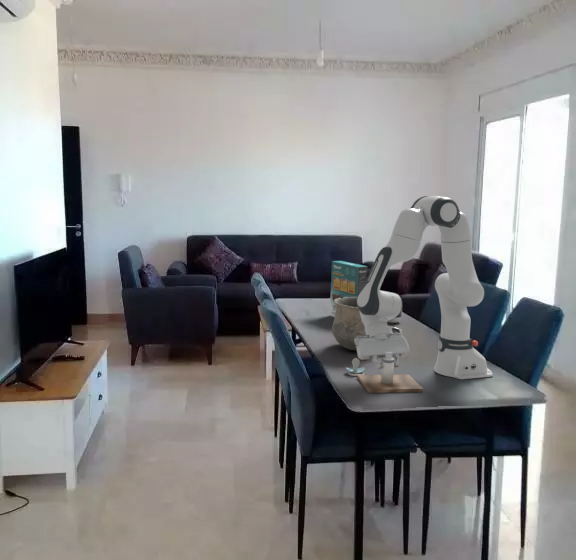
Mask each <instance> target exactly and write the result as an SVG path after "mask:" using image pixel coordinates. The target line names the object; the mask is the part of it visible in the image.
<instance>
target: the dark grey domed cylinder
mask: <svg viewBox="0 0 576 560" xmlns="http://www.w3.org/2000/svg"><path fill="white" fill-rule="evenodd" d="M402 317H403V310H402V311H401V312H400V314H399V315H398V316H397V317H395V318H393V319H391V320H389V321H387V323H389V324H396V323H398V322H400V321H401V319H402Z"/></svg>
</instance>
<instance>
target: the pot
mask: <svg viewBox="0 0 576 560" xmlns="http://www.w3.org/2000/svg"><path fill="white" fill-rule="evenodd" d="M334 303H335V305H336V312H335V317H333V322H332V327H331V333H332V336H333V337H334V339H335V340H336V342H337V343H338V344H339V345H341V346H342V347H343V348H345V349H346V350H350V351H355V352H357V346H356V345H355V342H354V339H355V338H356V337H357V336H364V335H366V333H365V326H364V324H363V322H362V320H361V316H360V312H359V308H358V306H357V297H344V298H342V299H341V298H337V299H335V300H334Z"/></svg>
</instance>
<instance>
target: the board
mask: <svg viewBox="0 0 576 560" xmlns="http://www.w3.org/2000/svg"><path fill="white" fill-rule="evenodd" d="M357 379H358V381H359V382H360V383H361V385H362V386H363V388H364V389H365V390H366V391H367V393H368V394H370V393H371V394H372V393H373V394H374V393H375V394H376V393H378V394H380V393H382V394H383V393H385V394H386V393H388V394H389V393H422V392H424V388H423V387H422V386H421V385H420V384H419V383H418V382H417V381H416V380H415V379H414V378H413V377H412V376H411V375H410V374H393V383H391V384H385V383H382V382H381V374H365V375H358V376H357Z"/></svg>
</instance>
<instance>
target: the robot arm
mask: <svg viewBox="0 0 576 560" xmlns="http://www.w3.org/2000/svg"><path fill="white" fill-rule="evenodd" d="M429 226H430V227H433V226H435V227H436V226H437V227H438V228H439V232H440V244H441V245H440V246H441V247H440V248H441V261H442V264H443V265H444V267H445V269H446V271H447V272H443V273H441V274H440V275H438V276H437V278H436V279H435V281H434V290H435V292H436V293H437V296H438V301H439V306H440V314H441V319H440V320H441V322H440V323H441V324H440V335H439V336H438V342H437V344H438V345H437V346H438V347H437V348H438V353H437V358H436V362H435V364H434V368H433V371H434V372H435V373H437V374H439V375H442V376H446V377H451V378H454V379H458V380H468V379H470V380H471V379H481V378H490V377H493V372H492V370H490V369H489V368H488V364H487V360H486V358H485V357H484V355H483V354H481V353H480V352H479V351H478V350H477V349H475V348H474V347H478V346H479V342H478V341H477V340H475V339H474V340H473V339H472V338H470V335H471V334H470V333H471V321H472V320H471V316H470V314H469V312H468V308H467V307H476V306H478V305H480V303H481V302H482V301H484V300H483V299H484V297H485V288H484V287H483V285H482V284H481V282H480V280H479V278H478V275H477V272H476V268H475V265H474V262H473V261H474V260H473V254H472V241H471V239H472V238H471V237H472V236H471V228H470V224H469V220H468V216H467V214H465V213H464V212H462V211H460V209H459V206H458V204H457V202H456V201H454V199H452V198H450V197H447V196H441V195H440V196H439V195H432V196H431V195H430V196H429V195H428V196H427V195H425V196H420V197H418V198H417V199H416V200H415V201H414V202H413V203H412V205H411V207H409V208H404V209H403V210H401V212H400V213H399V215H398V217H397V220H396V222H395V224H394V227H393V229H392V233H391V236H390V238H389V240H388V242H387V244H386V245H385V246H384V247H382V248H381V249H380V250H379V252H378V253H377V256H376V257H375V259H374V262H373V264H372V267H371V269H370V271H369V273H368V274H367V280H366V282H365V284H364V286H363V288H362V290H361V291H360V293H359V294H358V297H357V306H358V308H359V312H360V316H361V320H362V322H363V324H364V326H365V333H366V335H364V336H357V337H356V338H355V339H354V342H355V345H356V346H357V351H356V353H357V357H358V359H359V360H363V361H364V360H371V361H372V363H374V365H376V368H377V369H378V370H380V369H381V370H382V367H383V365H382V362H380V361H379V360H378V359H382V357H385V352H392V357H393V358H394V359H395V362H394V369H395V368H399V367H400V363H399V361H400V358H405V357H407V356H408V355H409V354H410V351H411V349H410V345H409V343H408V341H407V339H406V337H405V336H404V335H403V330H402V329H401V328H397V327H393V326H391V325H388V322H387V321H389V320H391V319H393V318H395V317H397V316H398V315H399V314H400V312H401V311H402V312H403V300H402V298H401V296H400V295H399V294H398V293H396V292H390V291H386V290H381V287H382V285H383V283H384V279H385V277H386V275H387V272H388V271H389V269H390V268H391V267H392V266H395V265H397V264H400V263H405V262H406V263H407V262H408V261H410V260H412V259H413V258H415V257H416V256H417V254H418V251H419V249H420V246H421V244H422V243H421V242H422V240H423V235H424V232H425V230H426V228H427V227H429Z"/></svg>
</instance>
